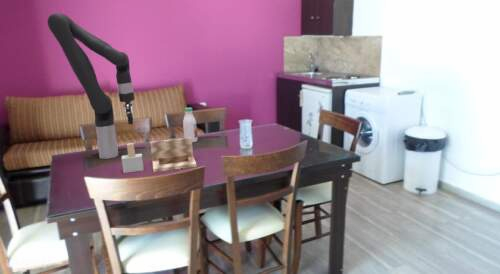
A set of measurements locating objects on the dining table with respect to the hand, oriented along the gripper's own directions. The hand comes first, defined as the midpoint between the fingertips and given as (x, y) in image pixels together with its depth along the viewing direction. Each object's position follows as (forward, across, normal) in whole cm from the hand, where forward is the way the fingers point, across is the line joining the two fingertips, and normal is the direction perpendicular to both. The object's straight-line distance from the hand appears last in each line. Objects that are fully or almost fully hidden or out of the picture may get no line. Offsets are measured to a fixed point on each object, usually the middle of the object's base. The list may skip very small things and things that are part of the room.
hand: (131, 122), depth 203 cm
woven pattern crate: (+18, +26, +18) cm, 37 cm away
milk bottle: (+19, -14, +31) cm, 39 cm away
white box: (+18, +26, -1) cm, 31 cm away
